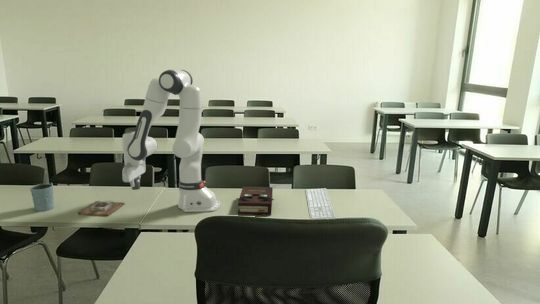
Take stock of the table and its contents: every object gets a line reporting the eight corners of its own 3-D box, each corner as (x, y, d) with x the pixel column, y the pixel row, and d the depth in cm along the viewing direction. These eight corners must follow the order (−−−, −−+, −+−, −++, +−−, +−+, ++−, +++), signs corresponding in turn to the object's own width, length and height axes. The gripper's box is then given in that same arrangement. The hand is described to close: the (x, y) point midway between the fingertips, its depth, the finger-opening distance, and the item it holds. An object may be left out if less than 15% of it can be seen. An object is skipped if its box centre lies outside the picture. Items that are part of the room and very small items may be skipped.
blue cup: (36, 213, 190) (33, 190, 187) (30, 208, 197) (27, 186, 194) (58, 208, 197) (55, 186, 195) (51, 203, 204) (48, 181, 201)
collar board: (124, 204, 203) (123, 200, 203) (108, 216, 188) (107, 211, 187) (96, 202, 205) (95, 198, 205) (78, 214, 190) (77, 209, 189)
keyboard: (305, 191, 230) (305, 187, 229) (325, 191, 229) (326, 187, 229) (310, 220, 187) (310, 216, 186) (335, 221, 187) (335, 217, 186)
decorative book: (274, 184, 217) (273, 203, 188) (274, 197, 219) (273, 218, 189) (241, 183, 217) (234, 202, 188) (241, 196, 219) (235, 217, 190)
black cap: (141, 187, 210) (140, 178, 209) (137, 189, 206) (137, 181, 204) (133, 187, 210) (133, 178, 209) (130, 189, 206) (129, 180, 205)
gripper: (129, 165, 194) (132, 191, 197) (146, 156, 214) (148, 179, 217) (117, 165, 195) (120, 191, 198) (136, 156, 214) (138, 179, 218)
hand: (135, 185), depth 208 cm, fingers closed on black cap, 4 cm apart
